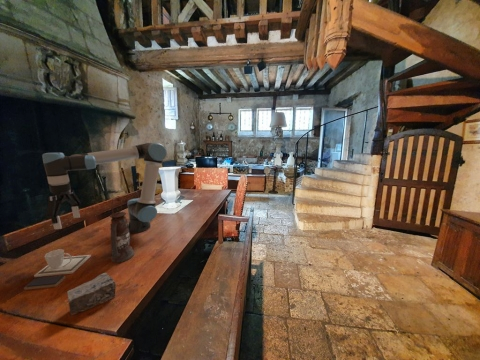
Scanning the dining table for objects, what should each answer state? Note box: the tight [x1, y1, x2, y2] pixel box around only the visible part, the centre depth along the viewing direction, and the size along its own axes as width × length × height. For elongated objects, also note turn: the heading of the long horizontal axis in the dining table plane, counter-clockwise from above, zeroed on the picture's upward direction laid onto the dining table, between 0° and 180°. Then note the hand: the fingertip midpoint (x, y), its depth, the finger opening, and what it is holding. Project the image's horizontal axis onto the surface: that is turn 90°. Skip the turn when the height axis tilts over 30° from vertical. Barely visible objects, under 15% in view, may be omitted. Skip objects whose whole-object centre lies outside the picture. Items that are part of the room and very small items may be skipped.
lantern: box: [109, 195, 135, 263], centre depth 98 cm, size 11×16×35 cm
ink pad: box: [23, 274, 67, 291], centre depth 81 cm, size 12×6×2 cm, turn 100°
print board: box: [33, 254, 92, 278], centre depth 93 cm, size 16×14×1 cm
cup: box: [44, 248, 72, 270], centre depth 90 cm, size 7×10×8 cm
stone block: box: [66, 272, 117, 316], centre depth 72 cm, size 14×9×8 cm, turn 138°
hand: (68, 222), depth 94 cm, fingers open, 13 cm apart
